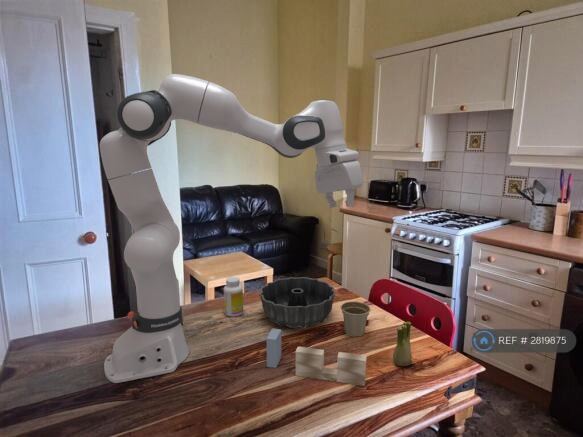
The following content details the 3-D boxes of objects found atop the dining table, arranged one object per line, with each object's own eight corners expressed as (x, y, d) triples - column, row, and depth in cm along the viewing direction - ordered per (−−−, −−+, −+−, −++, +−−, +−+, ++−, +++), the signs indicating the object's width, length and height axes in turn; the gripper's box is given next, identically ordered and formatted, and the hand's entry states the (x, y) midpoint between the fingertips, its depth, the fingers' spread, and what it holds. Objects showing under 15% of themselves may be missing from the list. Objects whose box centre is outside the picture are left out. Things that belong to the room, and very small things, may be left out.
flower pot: (369, 341, 116) (370, 315, 114) (338, 338, 118) (339, 312, 116) (369, 326, 125) (370, 302, 123) (341, 324, 127) (341, 300, 125)
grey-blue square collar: (275, 368, 103) (275, 339, 101) (266, 366, 103) (266, 338, 102) (281, 356, 108) (281, 329, 106) (272, 355, 109) (272, 328, 107)
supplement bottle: (246, 311, 137) (246, 277, 134) (236, 318, 131) (235, 283, 128) (231, 307, 140) (230, 274, 137) (220, 315, 134) (219, 280, 131)
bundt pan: (249, 330, 123) (248, 302, 121) (271, 298, 148) (270, 274, 146) (330, 340, 117) (330, 310, 115) (338, 304, 142) (339, 279, 140)
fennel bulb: (397, 370, 102) (399, 329, 99) (387, 360, 106) (390, 320, 104) (415, 366, 103) (418, 326, 101) (405, 356, 108) (408, 318, 105)
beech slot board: (365, 380, 98) (366, 355, 96) (364, 386, 95) (365, 361, 94) (297, 369, 102) (297, 346, 100) (295, 375, 99) (295, 351, 98)
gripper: (306, 165, 114) (315, 209, 115) (341, 154, 95) (351, 208, 96) (324, 162, 117) (332, 205, 118) (362, 151, 98) (371, 203, 99)
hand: (341, 206), depth 107 cm, fingers open, 8 cm apart
